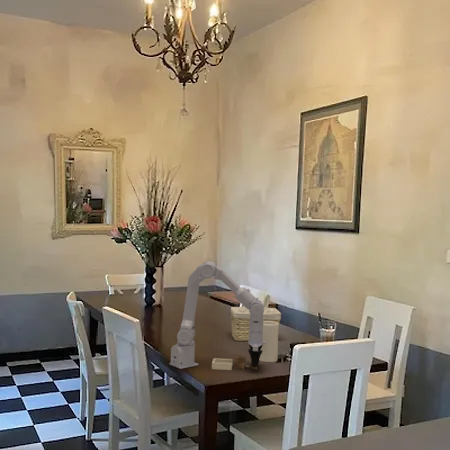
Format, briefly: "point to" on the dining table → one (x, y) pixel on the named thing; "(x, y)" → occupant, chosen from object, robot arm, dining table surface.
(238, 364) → the tan rounded-end part
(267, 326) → the cup
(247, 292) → the robot arm
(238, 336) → the storage basket
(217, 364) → the small tray
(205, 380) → the dining table surface
